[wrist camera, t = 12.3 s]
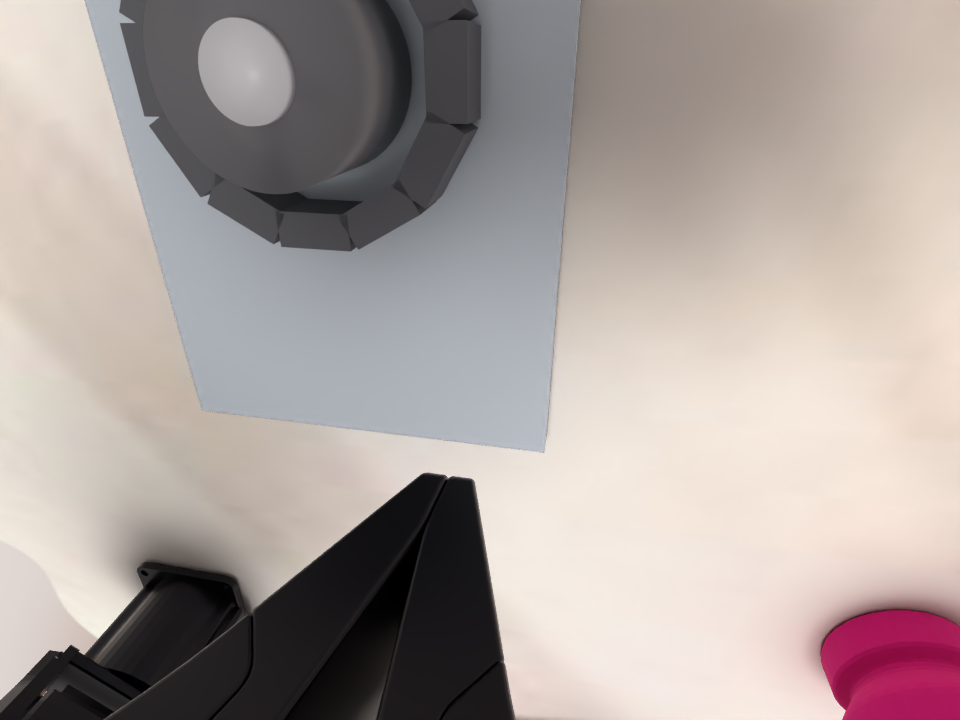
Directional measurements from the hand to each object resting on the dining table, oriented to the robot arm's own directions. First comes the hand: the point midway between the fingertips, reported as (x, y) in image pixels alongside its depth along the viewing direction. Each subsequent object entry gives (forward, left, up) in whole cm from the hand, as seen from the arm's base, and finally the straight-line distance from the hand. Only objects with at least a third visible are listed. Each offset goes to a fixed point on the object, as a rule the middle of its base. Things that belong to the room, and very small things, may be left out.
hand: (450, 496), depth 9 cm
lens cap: (-7, +6, -12) cm, 15 cm away
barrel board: (-7, +2, -13) cm, 15 cm away
